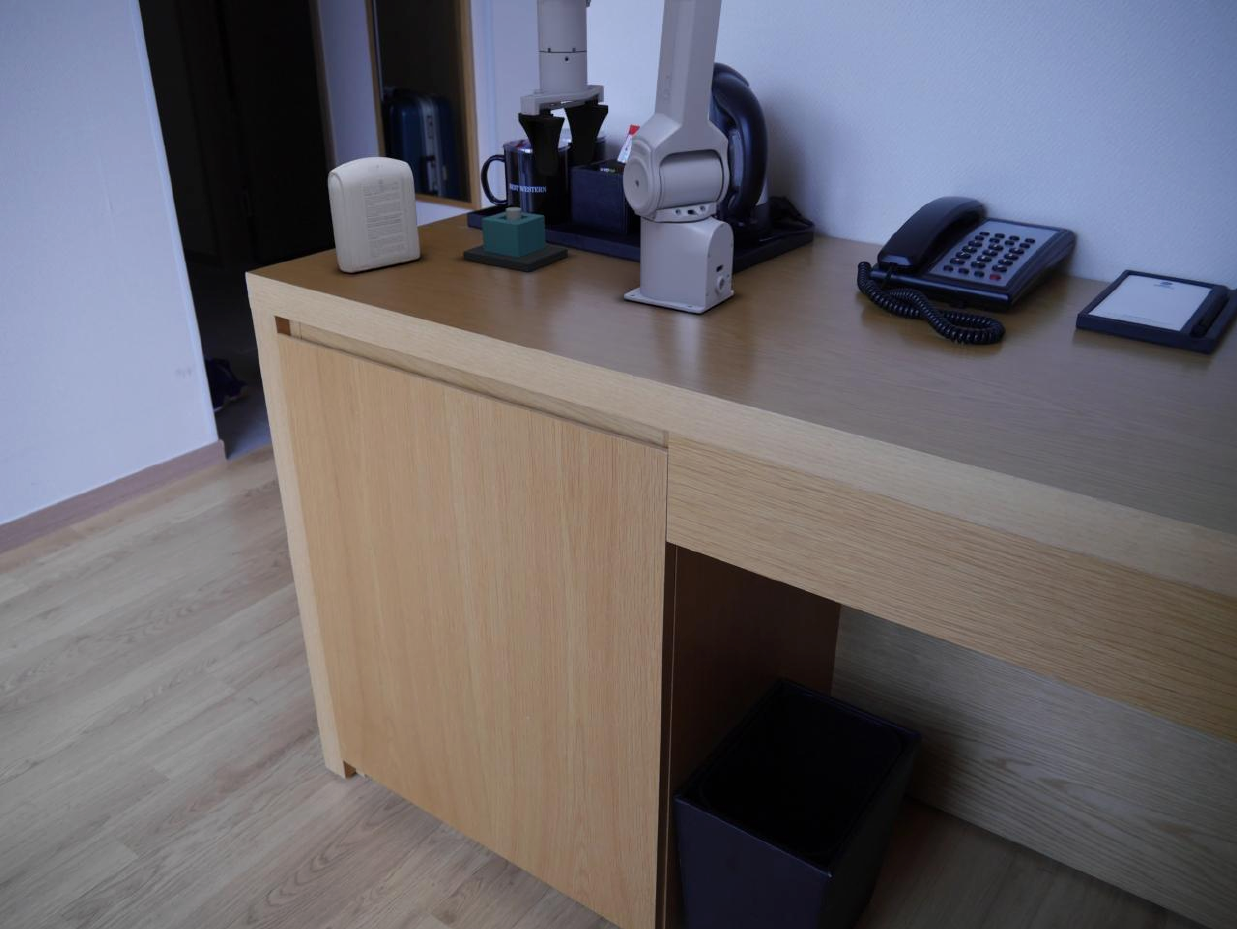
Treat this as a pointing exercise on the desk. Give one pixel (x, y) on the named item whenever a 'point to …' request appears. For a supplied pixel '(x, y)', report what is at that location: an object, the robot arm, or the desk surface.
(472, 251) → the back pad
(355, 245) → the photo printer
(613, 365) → the desk surface
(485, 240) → the teal block with hole
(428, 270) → the desk surface
